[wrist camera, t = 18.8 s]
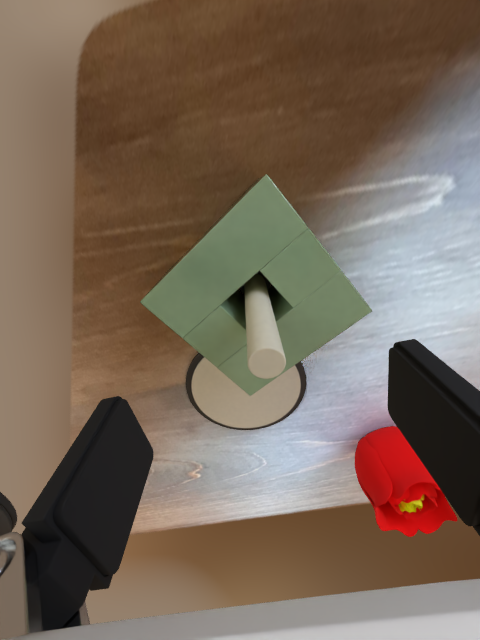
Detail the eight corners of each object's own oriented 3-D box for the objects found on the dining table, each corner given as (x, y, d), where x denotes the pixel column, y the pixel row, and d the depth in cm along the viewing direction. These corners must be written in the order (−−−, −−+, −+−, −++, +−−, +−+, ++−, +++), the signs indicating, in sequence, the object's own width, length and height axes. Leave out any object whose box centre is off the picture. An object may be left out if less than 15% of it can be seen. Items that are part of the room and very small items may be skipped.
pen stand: (164, 274, 22) (139, 302, 16) (259, 177, 19) (266, 173, 13) (248, 351, 25) (250, 396, 20) (340, 280, 22) (372, 311, 17)
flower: (398, 402, 28) (453, 477, 21) (426, 442, 30) (484, 521, 23) (332, 435, 30) (361, 513, 23) (364, 470, 33) (399, 550, 25)
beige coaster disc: (161, 383, 27) (160, 386, 26) (250, 309, 23) (251, 311, 23) (242, 444, 31) (242, 447, 30) (329, 388, 27) (331, 392, 26)
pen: (233, 276, 22) (225, 362, 11) (255, 256, 21) (270, 328, 10) (252, 296, 23) (263, 395, 12) (274, 278, 22) (307, 365, 11)
